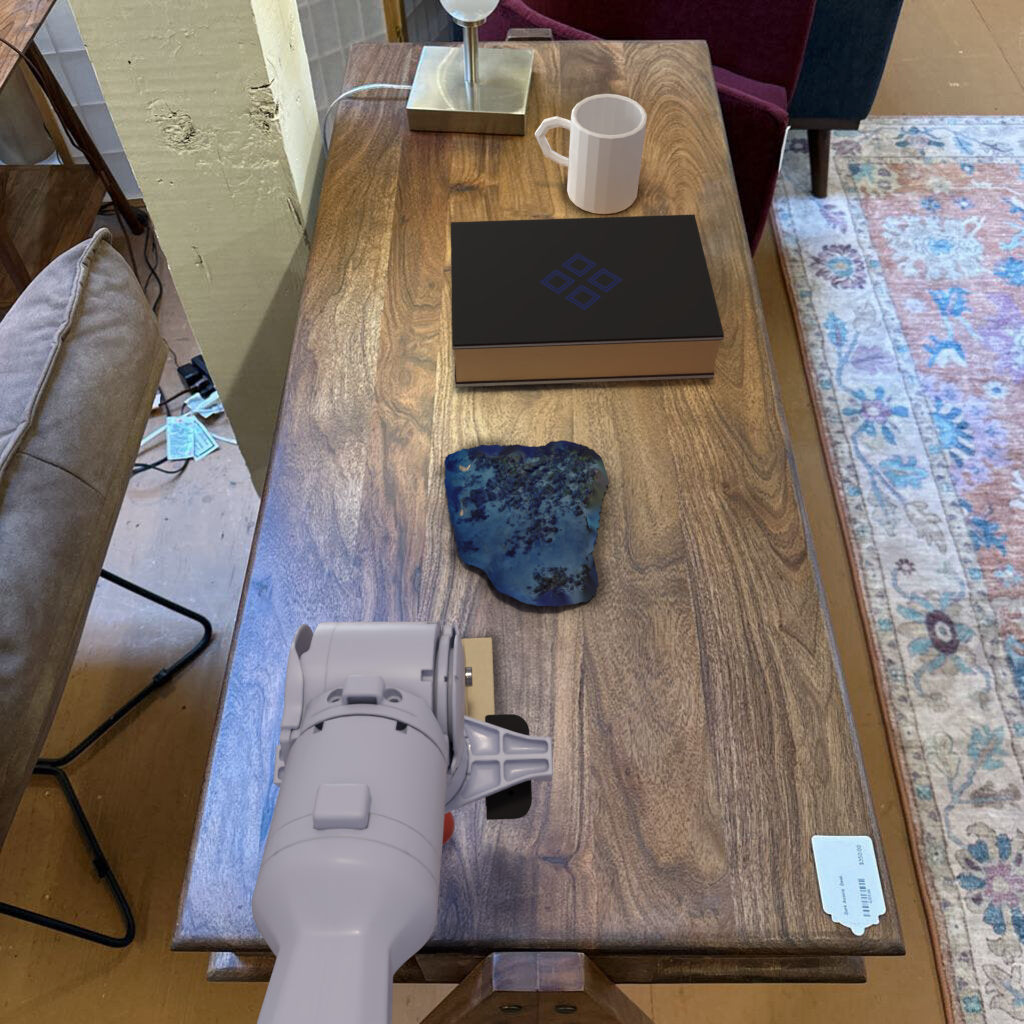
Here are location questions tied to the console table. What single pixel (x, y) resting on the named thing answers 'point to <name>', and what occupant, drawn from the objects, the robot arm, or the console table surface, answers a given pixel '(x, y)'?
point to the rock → (529, 517)
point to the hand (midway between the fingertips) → (428, 788)
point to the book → (581, 301)
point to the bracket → (478, 678)
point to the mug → (601, 151)
